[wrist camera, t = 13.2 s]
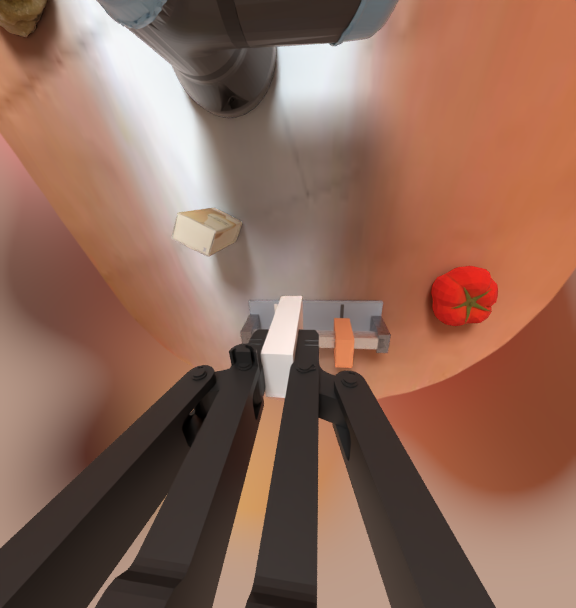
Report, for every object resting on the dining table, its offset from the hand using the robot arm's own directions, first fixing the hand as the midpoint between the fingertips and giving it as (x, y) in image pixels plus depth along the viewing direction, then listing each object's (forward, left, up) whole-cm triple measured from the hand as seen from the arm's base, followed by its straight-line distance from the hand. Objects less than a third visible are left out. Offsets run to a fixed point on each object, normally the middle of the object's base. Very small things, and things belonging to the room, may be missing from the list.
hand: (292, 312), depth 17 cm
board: (+11, -14, -30) cm, 35 cm away
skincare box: (-15, -7, -31) cm, 35 cm away
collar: (+16, -11, -26) cm, 33 cm away
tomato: (+29, +7, -31) cm, 43 cm away
